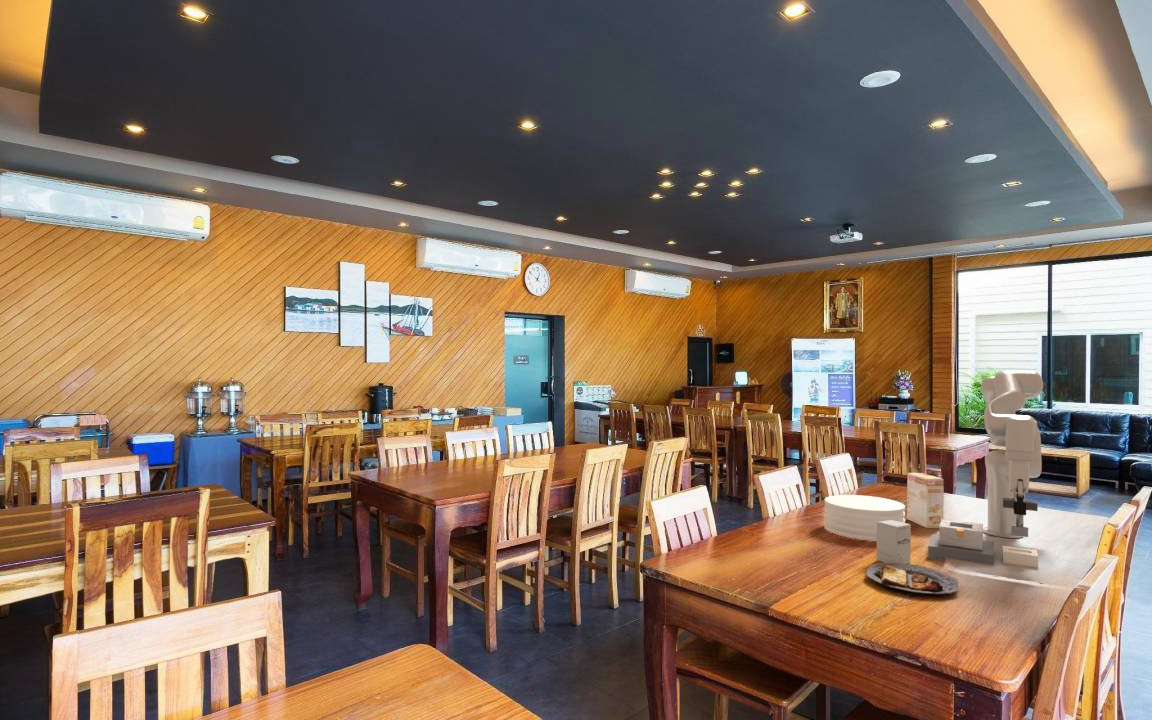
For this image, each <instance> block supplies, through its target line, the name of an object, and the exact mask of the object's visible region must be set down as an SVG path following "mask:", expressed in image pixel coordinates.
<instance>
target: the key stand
mask: <svg viewBox="0 0 1152 720" xmlns="http://www.w3.org/2000/svg"><path fill="white" fill-rule="evenodd" d="M1002 563H1003V564H1004V563H1005V564H1012V565H1017V566H1024V567H1030V568H1039V555H1038V550H1037V549H1032V548H1026V547H1025V548H1024V547H1017V546H1008V545H1002Z"/></svg>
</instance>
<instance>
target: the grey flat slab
mask: <svg viewBox="0 0 1152 720" xmlns="http://www.w3.org/2000/svg"><path fill="white" fill-rule="evenodd" d="M994 545H995V543H994V541H987V540H983V550H975V549H968V548H961V547H954V546H947V545H940V544H939V534H934V533H932V535H931V537H930V541H929V542H928V545H927V558H928V559H930V560H931V559H932V560H940V561H944V562H945V561H946V559H952V560H957V561H965V562H970V563H971V562H972V563H977V564H984V565H989V566H994V565H995V563H994V562H995V561H994V560H995V557H994V554H995V551H994V549H995V548H994Z"/></svg>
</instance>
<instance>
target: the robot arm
mask: <svg viewBox="0 0 1152 720" xmlns="http://www.w3.org/2000/svg"><path fill="white" fill-rule="evenodd" d="M1043 389H1044V381H1043V378H1042V376H1041V374H1039V373H1038V372H1037V371H1034V370H1031V371H1030V370H1004V371H1000V372H998V373H996V375H993V376H987V377H984V378H983V379H982V380H981V384H980V390H981V394H982V397H983V400H984V402H985V404H986V406H985V408H984V412H983V419H984V428H985V431H986V433H987V434H988V437H989V438H988V439H989V442H990V444H992V445H993V446H995V447H1000V448H1005V450H1003V449H1002V450H1001V449H1000V450H998V449H997V450H991V451H989V452H987V453H986V454H985V457H984V464H985V469H986V475H987V476H986V479H987V526H986V527H985V526H984V527H983V533H985V534H986V535H990V536H994V537H1000V538H1005V539H1006V538H1009V539H1020V538H1023V536H1015V535H1011V525H1015V526H1016V514H1018V515H1023V516H1026V515H1027V510H1026V502H1025V500H1026V494H1028V492H1029V486H1030V479H1037V478H1038V477H1040V475H1041V474H1042V468H1043V467H1042V463H1043V461H1042V440H1041V439H1042V438H1041V431H1040V429H1039V427H1038V422H1037V420H1036V419H1035V418H1034V417H1033V416H1031V415H1027V414H1026V415H1023V414H1016V412H1017V411H1019V410H1021V409H1022V408H1023V407H1025V404H1026V403H1027V400H1033V399H1035V398H1037V397H1038V396H1039V395H1041V393H1042V392H1043ZM1003 497H1005V498H1015V501H1014V509H1013V508H1004V507H1003Z"/></svg>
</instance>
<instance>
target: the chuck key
mask: <svg viewBox="0 0 1152 720" xmlns="http://www.w3.org/2000/svg"><path fill="white" fill-rule="evenodd" d="M1014 501H1015V498H1005V497H1003V507H1004V508H1013V509H1014ZM1025 502H1026V511H1034V512H1038V501H1037V500H1034V499H1025ZM1011 535H1015V536H1023V537H1024V538H1029V527H1028V526H1024V515H1018V514H1016V526H1015V525H1011ZM1023 537H1022V538H1023Z"/></svg>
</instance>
